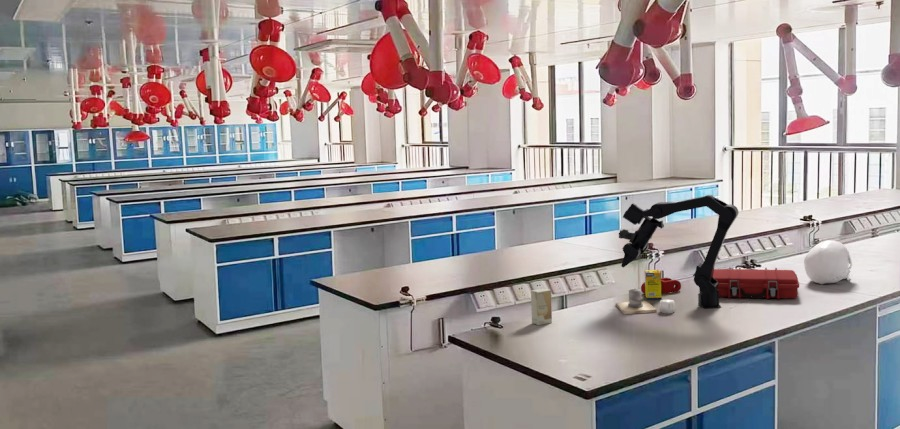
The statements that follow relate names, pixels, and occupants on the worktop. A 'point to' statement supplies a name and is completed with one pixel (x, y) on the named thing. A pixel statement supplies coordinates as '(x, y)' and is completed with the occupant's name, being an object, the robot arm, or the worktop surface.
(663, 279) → the mechanical linkage
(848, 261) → the lumpy white sphere
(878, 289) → the worktop surface
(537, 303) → the skincare box
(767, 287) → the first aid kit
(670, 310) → the cap
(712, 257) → the robot arm
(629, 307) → the beige square board
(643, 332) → the worktop surface
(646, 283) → the supplement box
